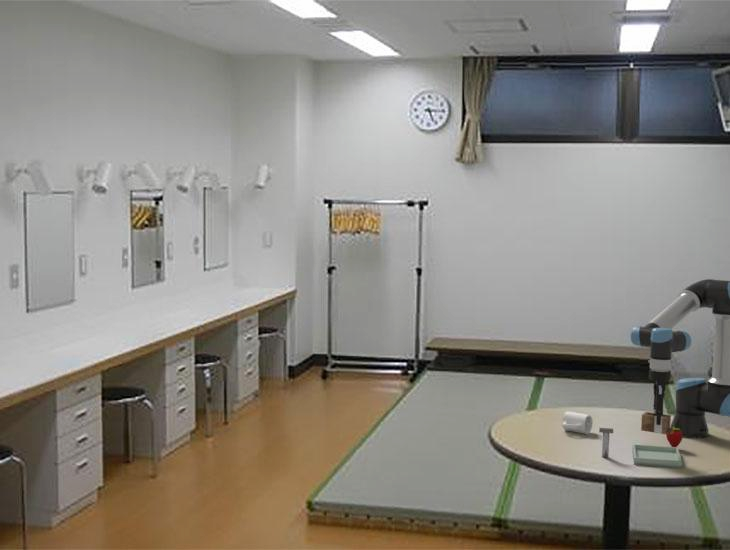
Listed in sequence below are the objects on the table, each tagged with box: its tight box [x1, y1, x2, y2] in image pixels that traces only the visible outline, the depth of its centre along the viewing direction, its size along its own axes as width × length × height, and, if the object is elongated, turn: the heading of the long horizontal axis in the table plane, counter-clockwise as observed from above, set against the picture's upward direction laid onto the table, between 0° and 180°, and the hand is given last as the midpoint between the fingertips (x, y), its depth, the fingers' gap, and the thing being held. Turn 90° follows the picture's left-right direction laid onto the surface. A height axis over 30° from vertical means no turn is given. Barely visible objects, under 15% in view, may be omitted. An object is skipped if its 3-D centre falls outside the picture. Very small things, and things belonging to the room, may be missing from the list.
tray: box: [631, 443, 683, 469], centre depth 352 cm, size 17×20×2 cm
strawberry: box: [665, 424, 684, 448], centre depth 366 cm, size 6×8×10 cm
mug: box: [561, 411, 594, 435], centre depth 389 cm, size 12×10×8 cm
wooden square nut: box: [640, 411, 673, 435], centre depth 351 cm, size 11×6×6 cm, turn 57°
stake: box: [598, 427, 614, 459], centre depth 353 cm, size 5×2×11 cm, turn 76°
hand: (657, 430), depth 351 cm, fingers closed on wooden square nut, 7 cm apart
